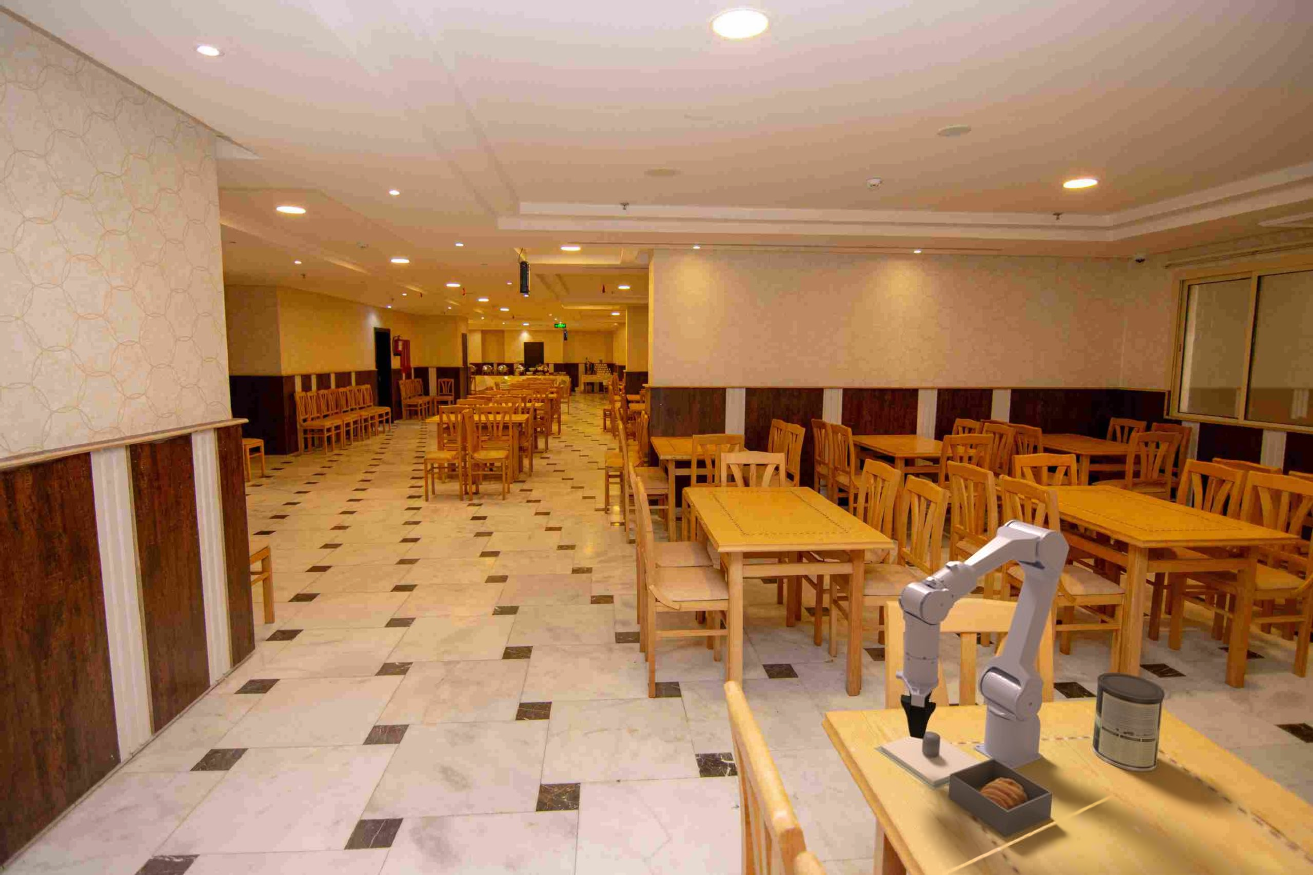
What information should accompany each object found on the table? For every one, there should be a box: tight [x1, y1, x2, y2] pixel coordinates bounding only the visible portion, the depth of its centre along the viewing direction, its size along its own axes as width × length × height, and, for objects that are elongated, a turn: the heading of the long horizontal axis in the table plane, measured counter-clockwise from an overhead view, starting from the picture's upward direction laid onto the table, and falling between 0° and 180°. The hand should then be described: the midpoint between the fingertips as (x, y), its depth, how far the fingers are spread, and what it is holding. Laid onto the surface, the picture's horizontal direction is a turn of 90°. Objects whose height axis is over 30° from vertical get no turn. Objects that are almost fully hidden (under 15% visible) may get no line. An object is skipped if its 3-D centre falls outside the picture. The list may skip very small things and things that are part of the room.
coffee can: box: [1091, 672, 1166, 773], centre depth 129 cm, size 10×10×14 cm
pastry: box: [979, 778, 1029, 810], centre depth 114 cm, size 9×7×4 cm
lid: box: [880, 729, 982, 786], centre depth 128 cm, size 12×12×4 cm
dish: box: [948, 758, 1053, 838], centre depth 114 cm, size 11×11×5 cm
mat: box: [874, 745, 950, 791], centre depth 128 cm, size 14×14×1 cm
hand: (917, 726), depth 122 cm, fingers open, 7 cm apart
